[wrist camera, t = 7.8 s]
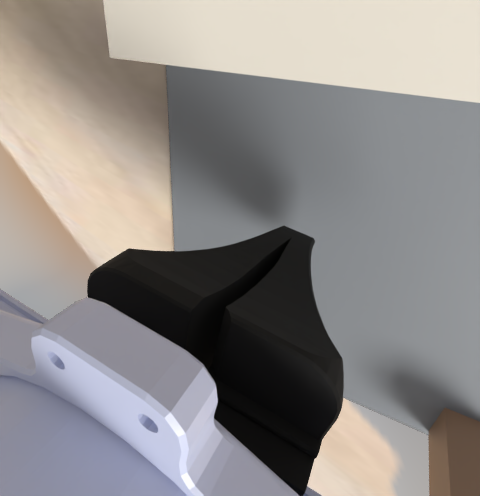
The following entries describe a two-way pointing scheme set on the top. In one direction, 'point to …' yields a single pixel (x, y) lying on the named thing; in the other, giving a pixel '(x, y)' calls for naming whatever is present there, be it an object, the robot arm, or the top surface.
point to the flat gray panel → (354, 231)
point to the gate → (310, 41)
